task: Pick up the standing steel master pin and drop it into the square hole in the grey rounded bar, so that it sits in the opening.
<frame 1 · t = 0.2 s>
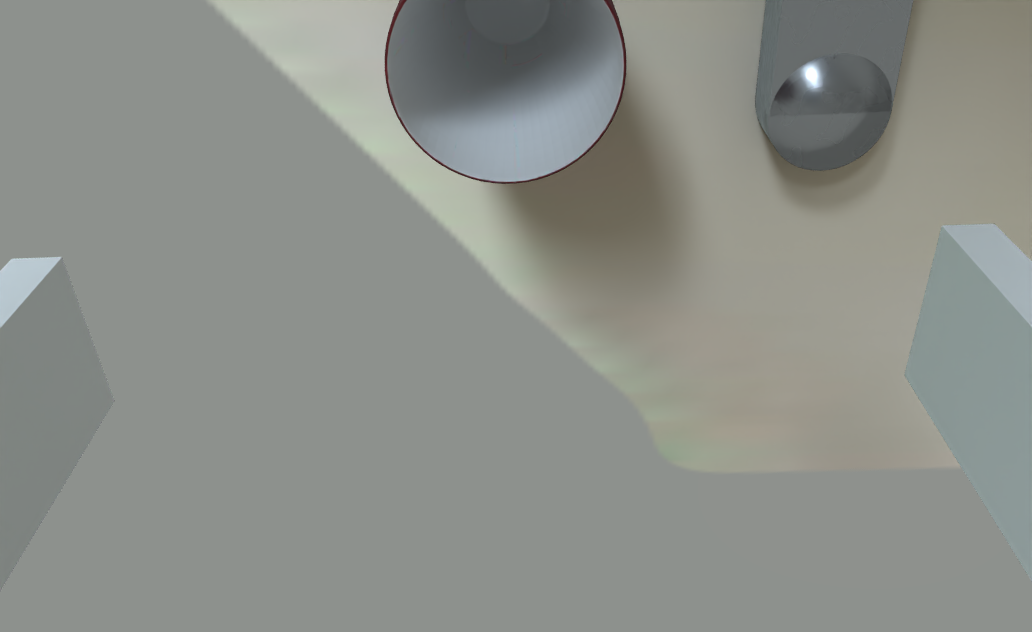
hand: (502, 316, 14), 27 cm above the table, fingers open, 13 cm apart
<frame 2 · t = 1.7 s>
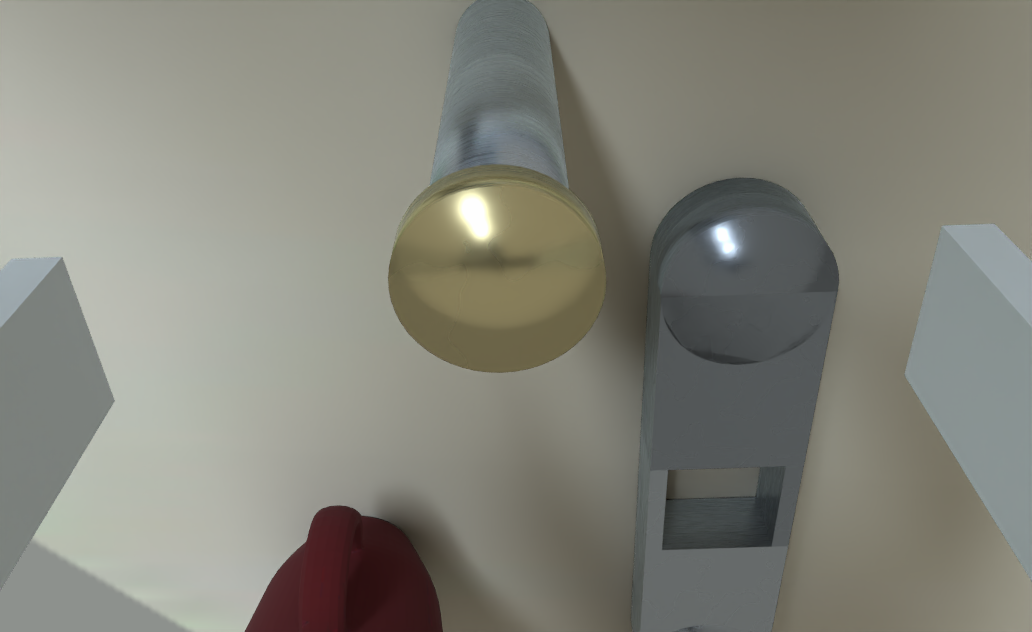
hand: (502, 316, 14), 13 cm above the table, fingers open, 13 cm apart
mug: (358, 523, 35), on the table
master pin: (502, 41, 24), on the table
grey rounded bar: (708, 460, 33), on the table
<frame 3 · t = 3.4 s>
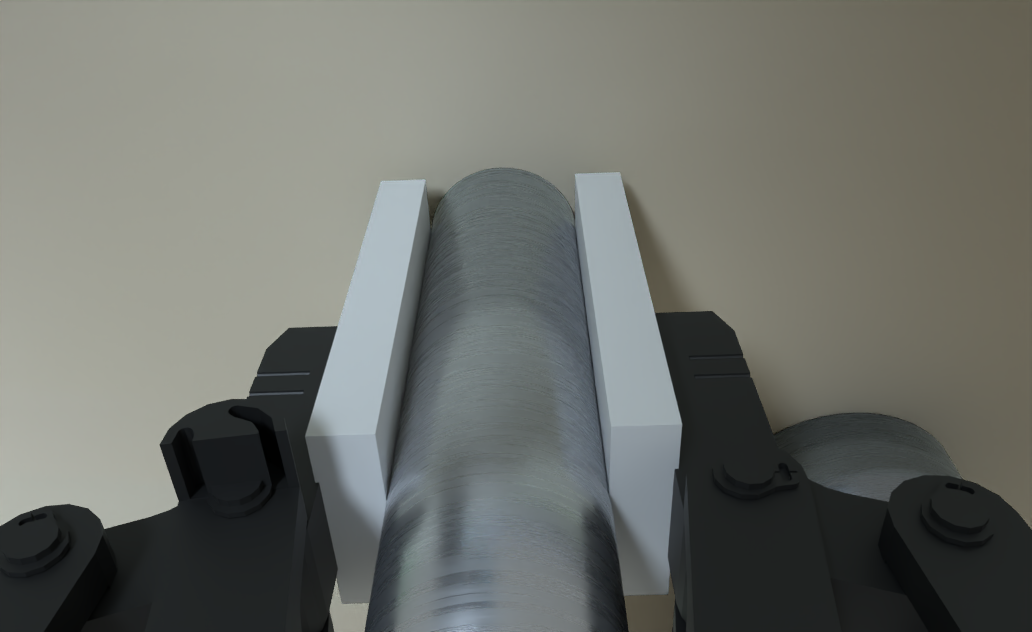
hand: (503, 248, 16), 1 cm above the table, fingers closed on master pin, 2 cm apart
master pin: (504, 234, 16), on the table, touching gripper
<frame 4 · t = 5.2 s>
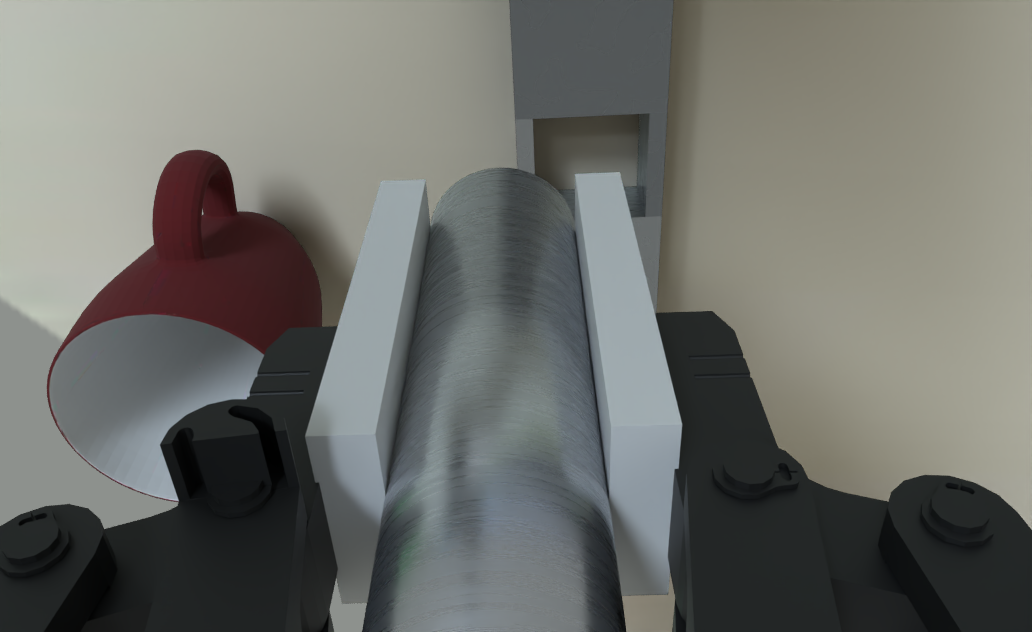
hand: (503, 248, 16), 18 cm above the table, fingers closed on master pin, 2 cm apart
mug: (245, 225, 36), on the table
master pin: (502, 234, 16), point 17 cm above the table, touching gripper
grey rounded bar: (585, 141, 33), on the table
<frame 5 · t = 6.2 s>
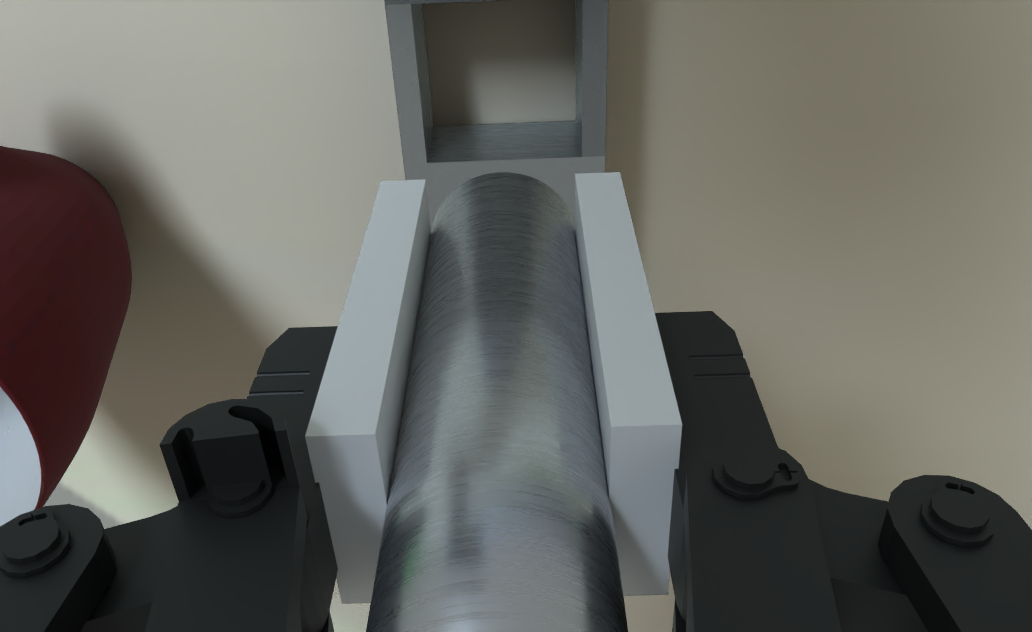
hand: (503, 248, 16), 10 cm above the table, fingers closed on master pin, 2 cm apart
mug: (38, 172, 26), on the table
master pin: (504, 238, 16), point 10 cm above the table, touching gripper
grey rounded bar: (501, 52, 24), on the table
when the fingers open (4 cm above the table, at t = 7.1 s): master pin drops 3 cm, resting in grey rounded bar.
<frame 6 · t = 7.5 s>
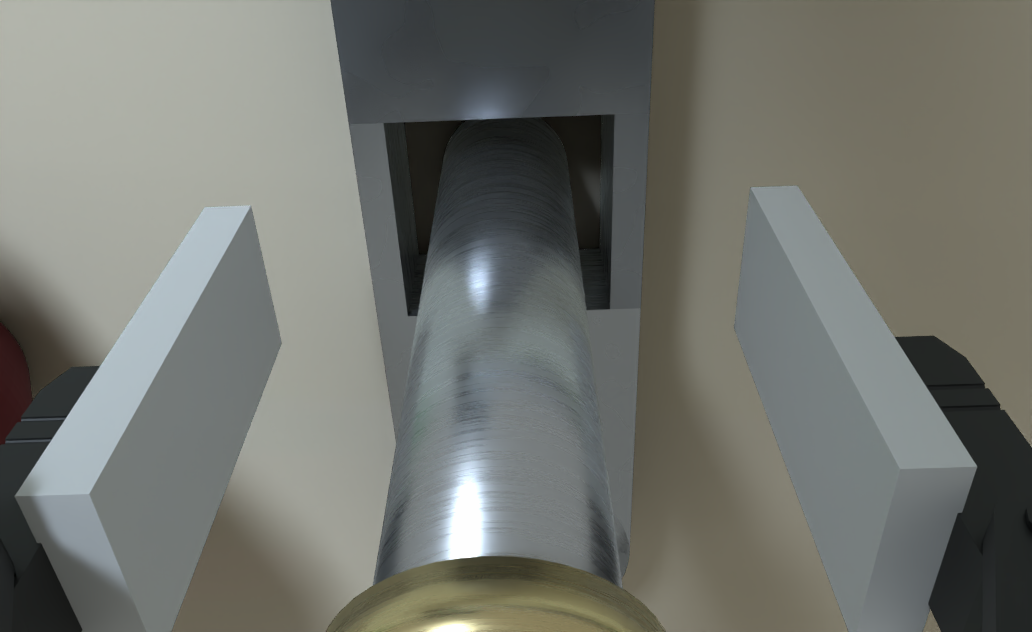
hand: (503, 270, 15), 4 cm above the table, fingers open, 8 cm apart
master pin: (505, 168, 18), resting in grey rounded bar
grey rounded bar: (505, 167, 18), on the table
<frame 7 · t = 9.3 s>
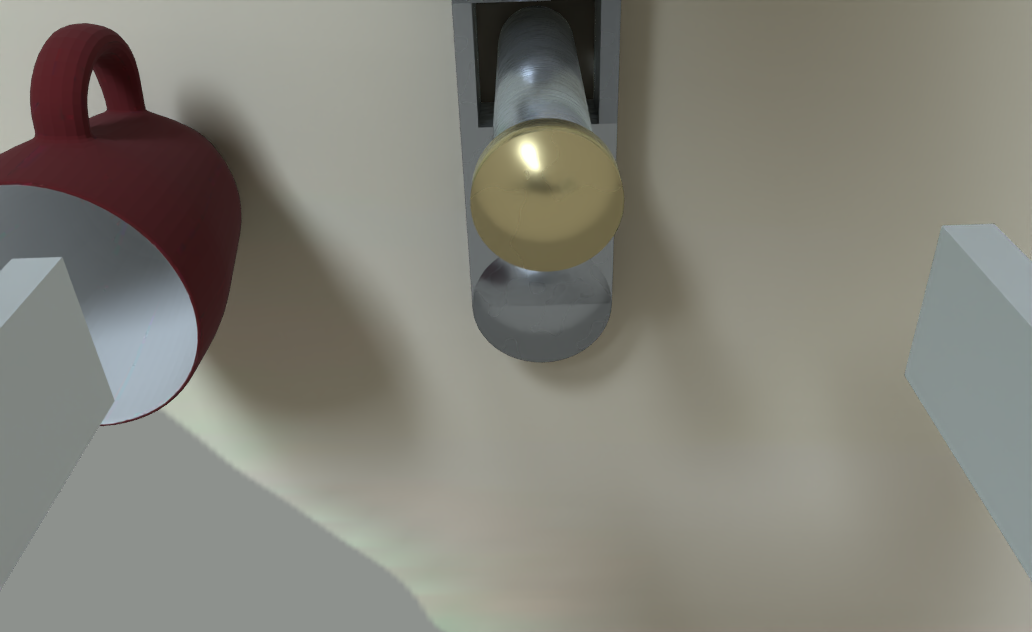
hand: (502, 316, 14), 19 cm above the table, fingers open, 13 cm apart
mug: (164, 137, 32), on the table
master pin: (536, 44, 30), resting in grey rounded bar
grey rounded bar: (536, 44, 30), on the table
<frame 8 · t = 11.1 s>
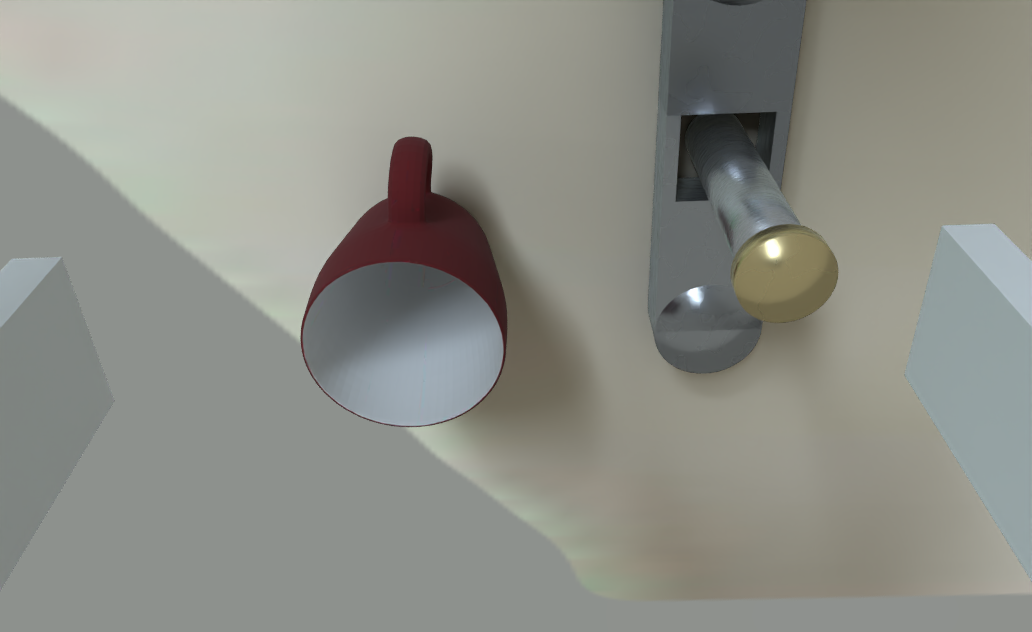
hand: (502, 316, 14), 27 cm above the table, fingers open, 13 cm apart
mug: (421, 205, 42), on the table
master pin: (713, 136, 40), resting in grey rounded bar
grey rounded bar: (713, 136, 40), on the table
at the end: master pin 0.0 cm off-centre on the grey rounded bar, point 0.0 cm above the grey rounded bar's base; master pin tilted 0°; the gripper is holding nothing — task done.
